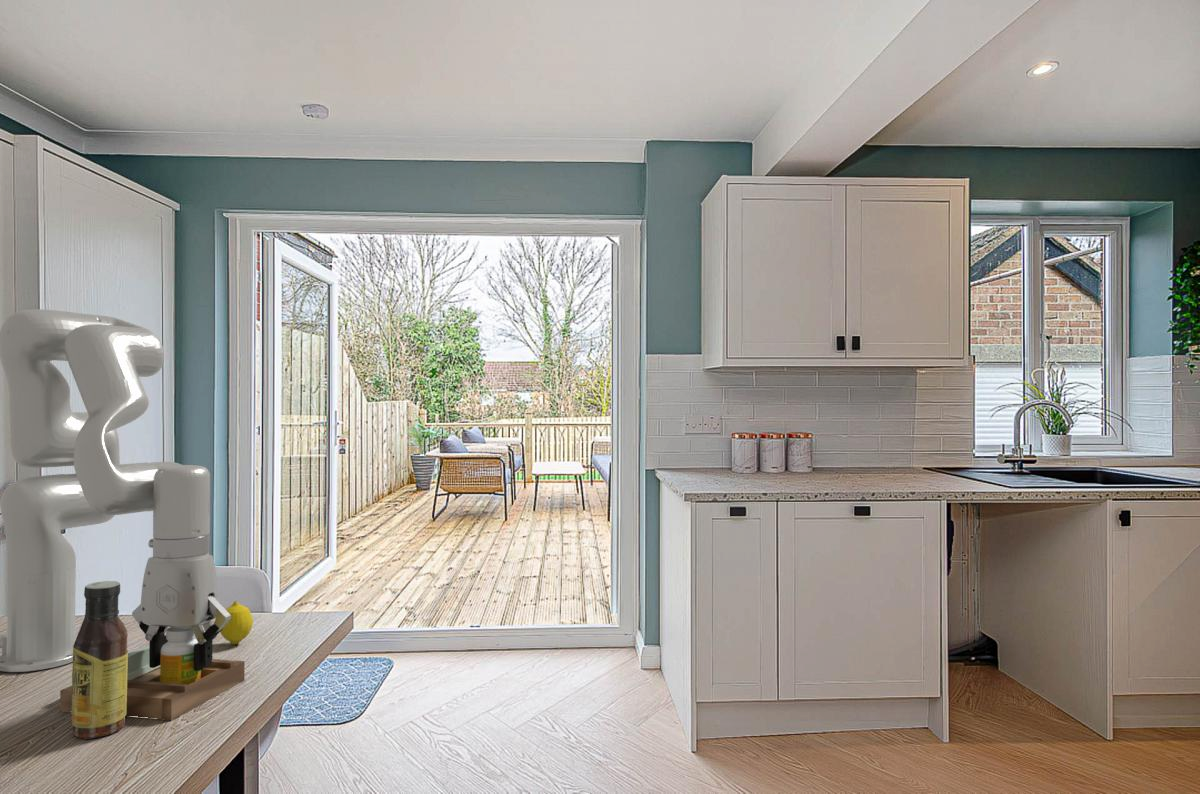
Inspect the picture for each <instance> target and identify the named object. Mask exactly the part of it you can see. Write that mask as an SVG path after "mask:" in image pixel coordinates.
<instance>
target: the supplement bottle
mask: <svg viewBox="0 0 1200 794" xmlns="http://www.w3.org/2000/svg"><path fill="white" fill-rule="evenodd" d="M165 635H166V639H167V640H168V642H167V643H165V644H164V645H163V646H162V648H161V659H160V682H162V683H175V684H191V683H193V682H195V681H197V680H199V679H201V670H200V671H195V670H194V669H193V665H194V644H196V643H198V641H197V639H196V637H195V634H194V632H193V629H192V628H181V627H168V628H167V630H166V632H165Z"/></svg>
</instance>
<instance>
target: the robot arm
mask: <svg viewBox="0 0 1200 794" xmlns="http://www.w3.org/2000/svg"><path fill="white" fill-rule="evenodd" d="M51 361H62V362H67V363H68V366H69V368H70V371H71V373H72V376H73V379H74V380H75V383H76V386H77V389H78V391H79V393H80V394H79V395H80V397H81V399H82V402H83V404H84V407H85V410H86V412H84V411H83V412H73V411H72V409H71V408H72V406H71V390H70V389H71V388H70V386H69V382H68V381H67V379H66V378H65V376H64V375H63V374H62V372H61V371H60V370H59V369H58V368H57V367H56V366H55V365H54V363H52V362H51ZM164 361H165V350H164V347H163V344H162V342H161V340H160V339H159V337H158V336H157V335H156V334H155V333H154V332H153V331H152V330H150V329H149V328H146V327H143V326H139V325H137V324H134V323H131V322H129V321H126V320H123V319H120V318H116V317H112V316H106V315H100V314H90V313H89V314H88V313H81V312H71V311H65V310H56V309H55V310H54V309H42V308H41V309H35V308H33V309H24V310H19V311H15V312H14V313H11V314H10V315H9V316H7V317H6V318H5V319H4V321H3V322H2V324H1V327H0V363H1V365H2V368H3V372H4V375H5V377H6V381H7V385H8V392H9V394H8V395H9V401H8V402H9V403H8V404H9V434H10V435H9V437H10V438H9V439H10V449H11V454H12V455H11V456H12V458H13V459H14V461H15V462H16V464H18V465H20V466H22V467H26V468H34V469H35V468H36V469H37V468H39V469H40V468H43V469H44V468H58V467H73V468H74V472H75V473H68V474H67V473H66V474H65V473H59V474H48V475H37V476H30V477H24V478H21V479H18V480H15V481H14V482H12V483H10V484H9V485H8V486H7V487H6V488H5V489H4V490H3V492H2V493H1V497H0V513H1V514H0V515H1V518H2V523H3V527H4V532H5V533H4V534H5V540H6V552H7V553H6V557H7V558H6V564H7V565H6V567H7V568H6V573H7V576H6V577H7V578H6V585H7V586H6V587H7V588H6V589H7V590H6V632H2V633H1V634H0V649H1V655H0V672H4V673H5V672H6V673H25V672H35V671H40V670H41V671H42V670H47V669H52V668H57V667H61V666H64V665H67V664H71V663H73V645H74V643H75V640H76V579H77V578H76V574H77V573H76V572H77V569H76V566H77V564H76V561H77V559H76V558H77V557H76V553H75V550H74V548H73V546H72V544H71V543H70V542H69V541H68V540H67V539H66V538H65V536H64V535H63V534H62V530H67V529H72V528H80V527H88V526H93V525H99V524H103V523H106V522H108V521H110V520H112V519H114V517H115V516H121V515H128V514H134V513H143V512H152V513H153V515H152V517H153V518H152V538H151V539H149V541H148V547H149V548H152V556H151V557H148V559H147V561H146V565H145V569H144V572H143V573H144V574H143V579H142V585H141V594H140V595H141V597H140V604H139V605H138V606H137V607H135V609H134V610H133V611H132V612H131V615H132V617H133V619H134V620H135V621H136V623H137V624H138V626H139V628H140V629H141V631H142V632H143V633H144V634H145V635H144V638H145V640H146V641H148V642H149V645H150V646H149V666H150V668H155V667H157V666H159V665H160V659H161V648H162V646H163V645H164V644H165V643H167V642H168V640H167V639H166V630H167V629H168V628H170V627H181V628H192V629H193V632H194V634H195V639H197V641H198V643H196V644H194V665H193V669H194V670H195V671H200V670H202V669H204V668H206V667H208V666H210V665H211V663H212V659H213V640H214V639H216V638H217V637H218V634H219V633H220V631H221V630H222V629H223V627H224V626H225V625H226V624H227V623H228V621H229V620H230V619H231V615H230V614H229V613H228V612H227V611H226V610H225V609H226V608H225V607H224V606H223V605H222V604H221V603H220V602H219V587H218V577H217V570H216V564H215V559H214V557H213V555H212V554H211V555H210V549H211V547H210V545H211V542H210V541H211V535H210V532H211V474H210V471H209V469H208V468H207V467H205V466H202V465H199V464H198V465H197V464H196V465H195V464H181V463H178V462H174V461H155V462H136V463H123V464H122V463H121V464H120V459H121V457H120V456H121V455H120V440H119V434H118V432H117V429H118V428H122V427H124V426H126V425H128V424H130V423H132V422H134V421H136V420H137V419H138V418H140V417H141V416H142V415H144V414H145V412H146V411H147V410H148V409H149V405H150V404H149V403H150V402H149V398H148V395H147V393H146V391H145V389H144V386H143V384H142V382H141V377H143V378H148V377H151V376H154V375H156V374H157V373H159V372H160V371H161V369H162V368H163V365H164ZM214 619H215V621H214V622H212V621H213V620H214Z"/></svg>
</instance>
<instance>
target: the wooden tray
mask: <svg viewBox="0 0 1200 794" xmlns="http://www.w3.org/2000/svg"><path fill="white" fill-rule="evenodd" d="M244 681H245V660H232V659H231V660H230V659H216V658H212V663H211V665H210V666H208V667H206V668H204V669H202V670H201V679H199V680H197V681H195V682H193V683H191V684H175V683H162V682H160V667H159V668H156V669H154V670H152V671H150V672H148V673H145V674H143V675H141V676H139V677H137V678H134V679H132V680H127V708H126V716H138V717H148V718H157V719H164V720H163V721H169V720H172V721H174V720H175V719H177V718H179V717H180V715H181V716H182V714H183V715H185V714H186V713H189V712H190V711H192V710H193V709H195V708H198V707H199V706H201V705H202V704H204V703H206V702H208V701H209V700H211V699H213V698H215V697H216V696H218V695H220V694H222V693H224V692H225V691H228V690H229V689H231V688H232V687H235V686H236V685H238V684H240V683H242V682H244ZM59 692H60V694H59V696H60V698H59V701H60V704H59V712H62V711H72V685H70V686H67V687H65V688H63V689H60V691H59ZM178 716H179V717H178ZM176 717H177V718H176ZM157 719H156V720H157ZM173 719H174V720H173Z"/></svg>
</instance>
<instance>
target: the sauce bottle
mask: <svg viewBox="0 0 1200 794" xmlns="http://www.w3.org/2000/svg"><path fill="white" fill-rule="evenodd" d="M120 594H121V583H120V582H119V581H114V580H111V581H110V580H103V581H96V582H92V583H88V584H86V585H85V586H84V592H83V596H84V598H85V604H84V605H85V611H84V619H83V620H82V623H81V626H80V628H79V630H78V633H77V636H76V637H75V643H74V645H73V662H72V670H71V672H72V673H71V679H72V681H71V683H72V685H71V686H72V712H71V725H72V734H73V736H75V737H76V738H81V739H85V740H90V739H95V738H102V737H105V736H108V735H112V734H115V733H117V732H119V731H120V730H122V729H123V727H124V726H125V723H126V717H125V716H126V708H127V671H128V653H129V651H128V636H129V635H128V630H127V628H126V626H125V624H124V622H123V621H122V620H121V619H120V617H119V616H118V615H119V614H120V613H119V612H120V610H119V596H120Z"/></svg>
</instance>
